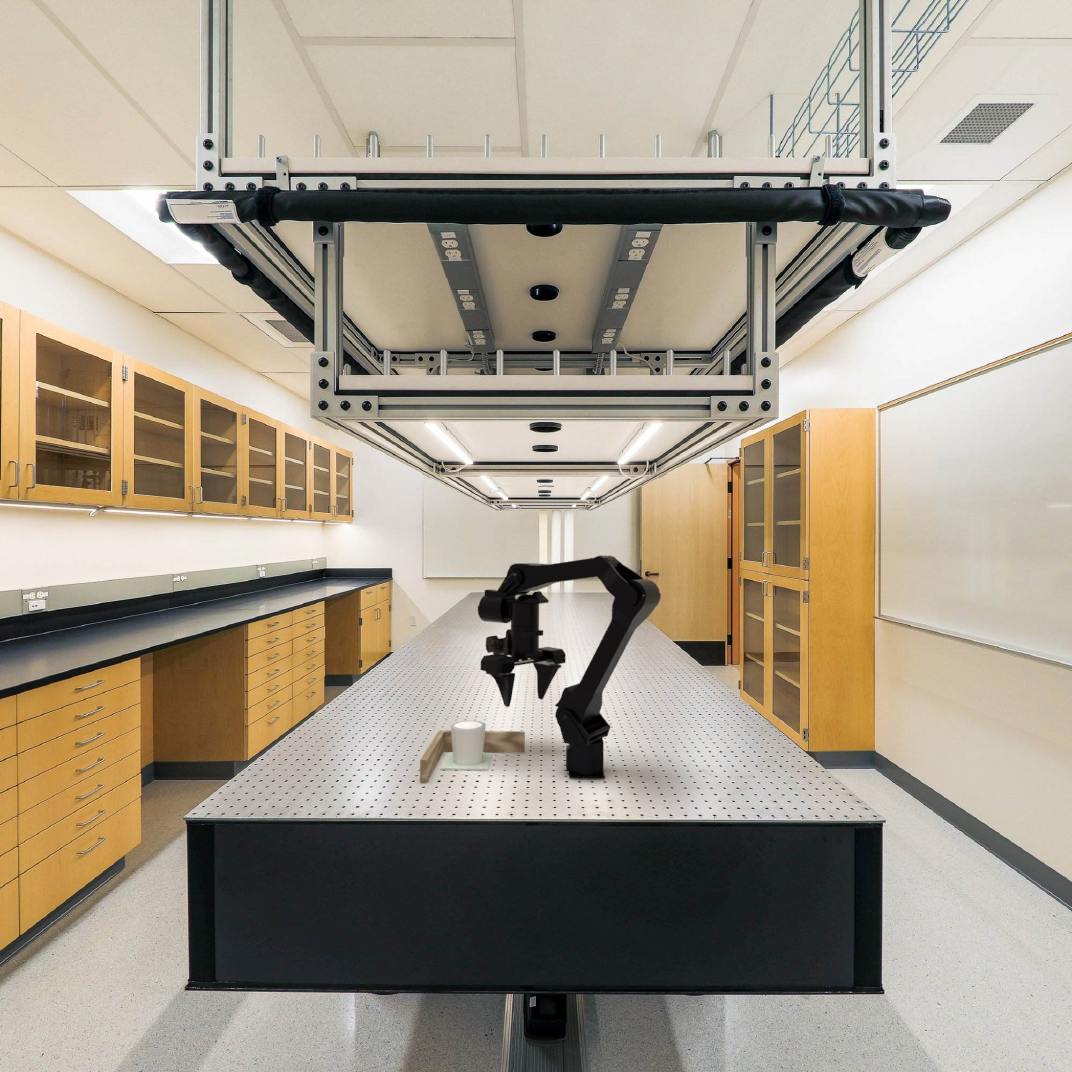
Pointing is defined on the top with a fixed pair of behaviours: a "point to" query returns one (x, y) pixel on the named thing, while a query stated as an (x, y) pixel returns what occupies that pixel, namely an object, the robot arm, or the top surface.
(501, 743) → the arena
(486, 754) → the pad
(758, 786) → the top surface
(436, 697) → the top surface
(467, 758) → the white cup
